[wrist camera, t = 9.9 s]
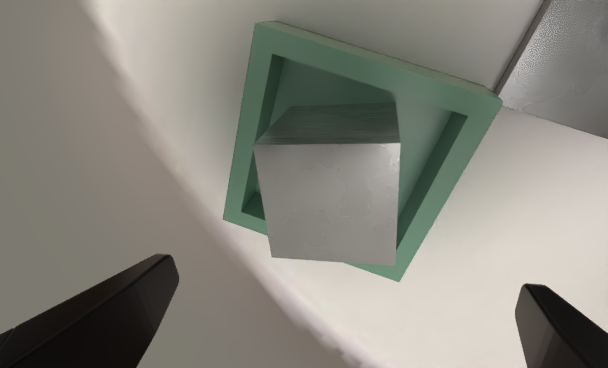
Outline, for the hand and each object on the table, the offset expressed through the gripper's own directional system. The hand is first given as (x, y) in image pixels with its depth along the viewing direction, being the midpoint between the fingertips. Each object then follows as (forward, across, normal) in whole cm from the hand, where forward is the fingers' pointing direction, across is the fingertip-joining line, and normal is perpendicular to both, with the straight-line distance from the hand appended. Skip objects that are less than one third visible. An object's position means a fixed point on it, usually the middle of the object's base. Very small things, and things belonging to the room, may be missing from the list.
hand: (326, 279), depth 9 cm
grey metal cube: (+11, +1, +1) cm, 11 cm away
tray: (+12, +1, +1) cm, 12 cm away
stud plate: (+12, -12, -4) cm, 18 cm away
